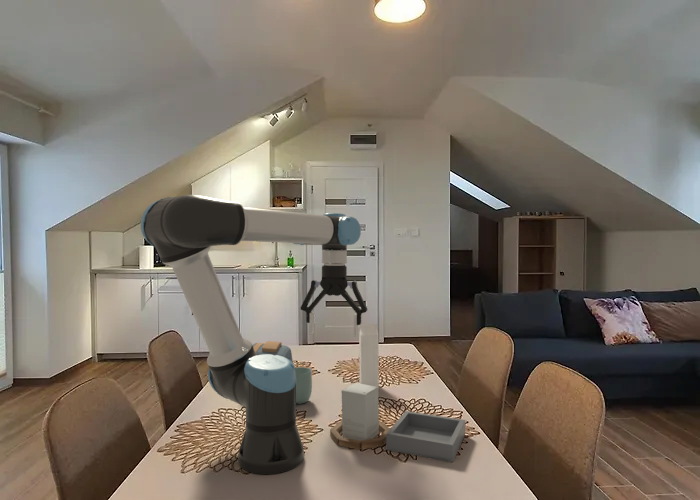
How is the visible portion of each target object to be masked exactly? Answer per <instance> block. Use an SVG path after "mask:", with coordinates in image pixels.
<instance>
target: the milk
mask: <svg viewBox="0 0 700 500" xmlns="http://www.w3.org/2000/svg"><path fill="white" fill-rule="evenodd" d="M358 336H359V338H358V341H359V342H358V343H359V344H358V345H359V346H358V349H359V351H358V352H359V353H358V355H359V357H358V358H359V367H358V369H359V384H364V385H370V386H376V387H378V390H379V387H380V386H379V385H380V384H379V381H380V379H379V378H380V377H379V375H380V374H379V370H380V368H379V357H380V356H379V351H380V350H379V331H378V324H377V323H361V324H360V325H359V330H358Z"/></svg>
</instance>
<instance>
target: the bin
mask: <svg viewBox="0 0 700 500" xmlns="http://www.w3.org/2000/svg"><path fill="white" fill-rule="evenodd" d="M465 436H466V419H461V418H455V417H449V416H441V415H436V414H435V415H434V414H430V413H429V414H428V413H424V412H423V413H421V412H415V411H410V410H405V411H404V412H403V413H402V415H400V416H399V418H398V419H397V420H396V421H395V423H394V424H393V425H392V426H391V428H390V430H389V431H388V432H387V433H386V443H385V444H386V445H385V446H386V448H385V449H386V451H391V452H397V453H402V454H406V455H407V454H408V455H411V456H418V457H422V458H427V459H434V460H439V461H444V462H450V463H454V461H455V458H456V457H457V454H458V451H459V450H460V448H461V445H462V442H463V440H464V438H465Z"/></svg>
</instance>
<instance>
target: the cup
mask: <svg viewBox="0 0 700 500" xmlns="http://www.w3.org/2000/svg"><path fill="white" fill-rule="evenodd" d="M295 374H296V405H297V404H298V405H301V404H302V405H303V404H306V403H307V402H308V401H310V398H311V396H312V388H313V371H312V368H310V367H304V366H303V367H301V366H298V367H295Z"/></svg>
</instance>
